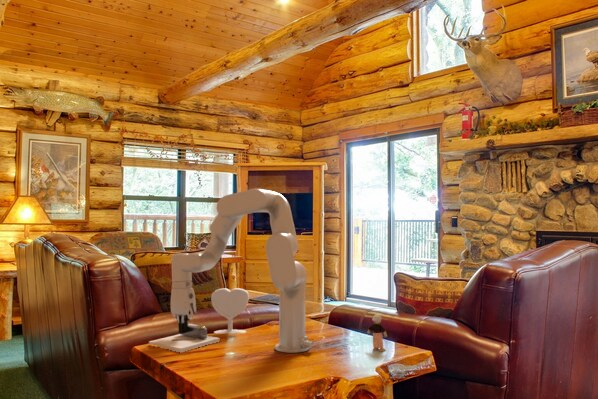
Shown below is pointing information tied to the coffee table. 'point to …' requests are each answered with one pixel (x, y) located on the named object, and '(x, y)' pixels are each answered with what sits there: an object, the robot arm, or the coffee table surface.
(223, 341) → the coffee table surface
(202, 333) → the lock bar
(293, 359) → the coffee table surface
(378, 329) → the grandmother figurine
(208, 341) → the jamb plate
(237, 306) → the heart sculpture
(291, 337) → the robot arm
